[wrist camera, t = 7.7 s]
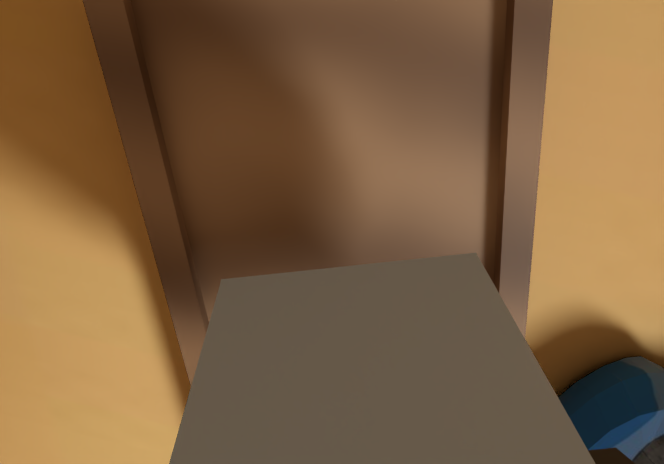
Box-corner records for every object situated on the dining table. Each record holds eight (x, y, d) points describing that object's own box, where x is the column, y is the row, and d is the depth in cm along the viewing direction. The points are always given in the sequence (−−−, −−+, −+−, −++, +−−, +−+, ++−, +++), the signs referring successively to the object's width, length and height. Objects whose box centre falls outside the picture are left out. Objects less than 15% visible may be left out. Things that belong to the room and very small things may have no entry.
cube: (471, 435, 15) (558, 693, 10) (262, 455, 15) (235, 723, 10) (476, 252, 12) (600, 473, 7) (221, 279, 12) (154, 517, 7)
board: (499, 436, 23) (514, 471, 22) (228, 463, 23) (222, 499, 22) (530, -53, 15) (557, -55, 13) (105, -7, 15) (81, -4, 13)
